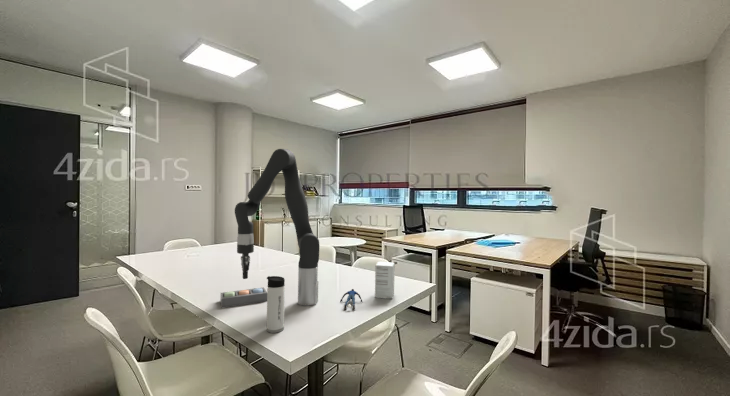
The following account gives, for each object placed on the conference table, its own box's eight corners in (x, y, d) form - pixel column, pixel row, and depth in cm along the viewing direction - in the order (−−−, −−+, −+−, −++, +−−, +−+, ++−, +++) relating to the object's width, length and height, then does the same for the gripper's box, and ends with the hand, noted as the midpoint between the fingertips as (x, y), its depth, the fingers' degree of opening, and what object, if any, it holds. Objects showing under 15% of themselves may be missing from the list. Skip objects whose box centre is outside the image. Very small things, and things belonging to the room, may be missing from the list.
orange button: (248, 296, 144) (248, 289, 144) (249, 299, 140) (249, 291, 140) (238, 297, 142) (238, 290, 142) (239, 300, 138) (239, 293, 138)
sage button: (234, 298, 141) (234, 291, 141) (235, 301, 137) (235, 293, 137) (223, 299, 139) (223, 292, 139) (224, 302, 135) (224, 295, 135)
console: (263, 295, 150) (263, 287, 150) (267, 301, 141) (267, 292, 141) (220, 301, 140) (220, 292, 140) (221, 307, 132) (221, 298, 132)
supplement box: (377, 292, 158) (377, 261, 158) (394, 293, 156) (394, 262, 157) (374, 297, 149) (375, 264, 149) (392, 299, 147) (393, 265, 147)
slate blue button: (261, 294, 147) (262, 287, 147) (263, 297, 143) (263, 290, 143) (252, 295, 145) (252, 288, 145) (253, 298, 141) (253, 291, 141)
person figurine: (361, 315, 131) (363, 296, 149) (361, 305, 130) (363, 288, 148) (337, 314, 131) (341, 295, 149) (337, 304, 131) (342, 287, 148)
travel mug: (267, 326, 113) (269, 274, 114) (285, 325, 114) (286, 274, 114) (263, 333, 107) (264, 279, 107) (282, 333, 108) (283, 278, 108)
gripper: (235, 241, 146) (235, 276, 145) (238, 245, 134) (238, 282, 134) (251, 240, 149) (251, 274, 149) (255, 244, 138) (255, 280, 137)
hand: (245, 278), depth 141 cm, fingers closed
